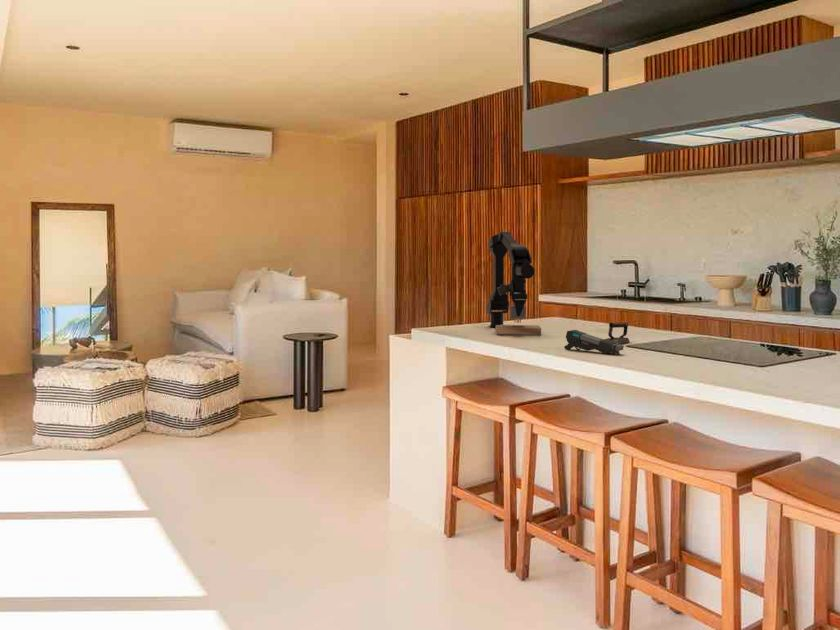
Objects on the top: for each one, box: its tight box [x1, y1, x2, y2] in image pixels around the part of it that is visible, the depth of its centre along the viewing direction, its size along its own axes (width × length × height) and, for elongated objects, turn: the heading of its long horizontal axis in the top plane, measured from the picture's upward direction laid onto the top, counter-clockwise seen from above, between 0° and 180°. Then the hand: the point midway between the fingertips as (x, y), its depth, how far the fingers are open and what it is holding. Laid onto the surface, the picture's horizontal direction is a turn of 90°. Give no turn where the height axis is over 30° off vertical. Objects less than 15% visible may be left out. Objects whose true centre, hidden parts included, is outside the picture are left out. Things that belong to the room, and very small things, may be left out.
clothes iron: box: [606, 322, 631, 346], centre depth 273 cm, size 7×11×10 cm, turn 125°
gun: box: [563, 329, 625, 356], centre depth 251 cm, size 4×20×10 cm, turn 49°
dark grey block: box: [509, 304, 527, 324], centre depth 299 cm, size 6×6×7 cm
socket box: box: [495, 324, 542, 337], centre depth 300 cm, size 11×18×4 cm, turn 85°
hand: (517, 315), depth 299 cm, fingers closed on dark grey block, 6 cm apart
